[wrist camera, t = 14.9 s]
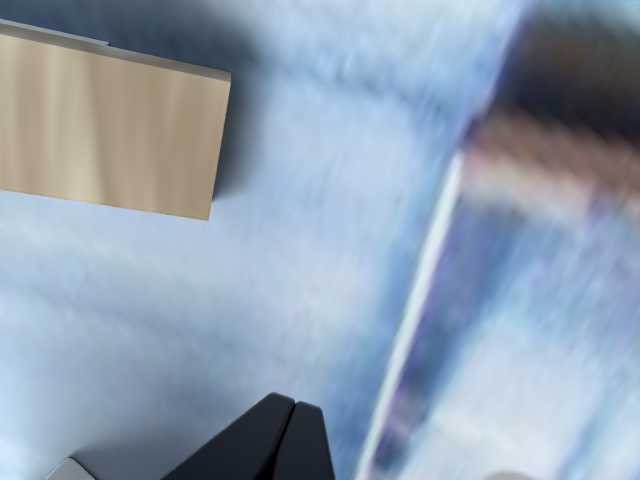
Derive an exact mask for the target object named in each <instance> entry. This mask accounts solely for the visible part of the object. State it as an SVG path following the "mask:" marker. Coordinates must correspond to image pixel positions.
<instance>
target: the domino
mask: <svg viewBox="0 0 640 480" xmlns="http://www.w3.org/2000/svg"><path fill="white" fill-rule="evenodd" d="M230 85H231V72H227V71H223V70H218V69H213V68H209V67H204V66H199V65H195V64H190V63H185V62H181V61H176V60H171V59H167V58H162V57H157V56H153V55H148V54H143V53H138V52H134V51H129V50H124V49H120V48H115V47H110V46H106V45H101V44H96V43H92V42H87V41H82V40H78V39H73V38H68V37H64V36H59V35H54V34H50V33H45V32H40V31H36V30H31V29H26V28H21V27H17V26H12V25H7V24H3V23H0V190H7V191H14V192H20V193H27V194H34V195H40V196H47V197H54V198H60V199H67V200H73V201H80V202H87V203H93V204H100V205H107V206H113V207H120V208H127V209H133V210H140V211H147V212H153V213H160V214H167V215H173V216H180V217H187V218H193V219H200V220H207V221H208V220H209V214H210V208H211V202H212V196H213V190H214V184H215V177H216V171H217V165H218V159H219V153H220V147H221V141H222V135H223V128H224V122H225V116H226V110H227V104H228V98H229V92H230Z"/></svg>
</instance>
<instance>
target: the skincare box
mask: <svg viewBox="0 0 640 480" xmlns="http://www.w3.org/2000/svg"><path fill="white" fill-rule="evenodd" d="M43 480H95V479H94V478H93V477H92V476H91V475H90V474H89V473H88V472H87V471H86V470H85V469H84V468H83V467H81V466H80V465H79V464H78V463H77V462H76V461H75V460H73V459H70V458H66V459H65V460H63V461H62V462H61V463H60V464H59V465H58V466H57V467H56V468H55V469H54V470H52V471H51V472H50V473H49V474H48V475H47V476H46V477H45V478H44V479H43Z"/></svg>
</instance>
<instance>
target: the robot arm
mask: <svg viewBox="0 0 640 480" xmlns="http://www.w3.org/2000/svg"><path fill="white" fill-rule="evenodd" d="M159 480H336V477H335V472H334V467H333V462H332V457H331V452H330V447H329V442H328V437H327V432H326V427H325V422H324V417H323V412H322V409H321V408H320V407H318V406H315V405H312V404H309V403H306V402H303V401H298V402H297V403H296V404H295V400H294V399H293V398H291V397H288V396H285V395H282V394H278V393H275V392H273V393H270V394H268V395H267V396H266V397H264V398H263V399H262V400H261V401H259V402H258V403H257V404H255V405H254V406H253V407H252V408H250V409H249V410H248V411H246V412H245V413H244V414H243V415H241V416H240V417H239V418H237V419H236V420H235V421H234V422H232V423H231V424H230V425H228V426H227V427H226V428H225V429H223V430H222V431H221V432H219V433H218V434H217V435H216V436H214V437H213V438H212V439H210V440H209V441H208V442H207V443H205V444H204V445H203V446H201V447H200V448H199V449H198V450H196V451H195V452H194V453H192V454H191V455H190V456H188V457H187V458H186V459H185V460H183V461H182V462H181V463H179V464H178V465H177V466H176V467H174V468H173V469H172V470H170V471H169V472H168V473H167V474H165V475H164V476H163V477H161V478H160V479H159Z"/></svg>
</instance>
